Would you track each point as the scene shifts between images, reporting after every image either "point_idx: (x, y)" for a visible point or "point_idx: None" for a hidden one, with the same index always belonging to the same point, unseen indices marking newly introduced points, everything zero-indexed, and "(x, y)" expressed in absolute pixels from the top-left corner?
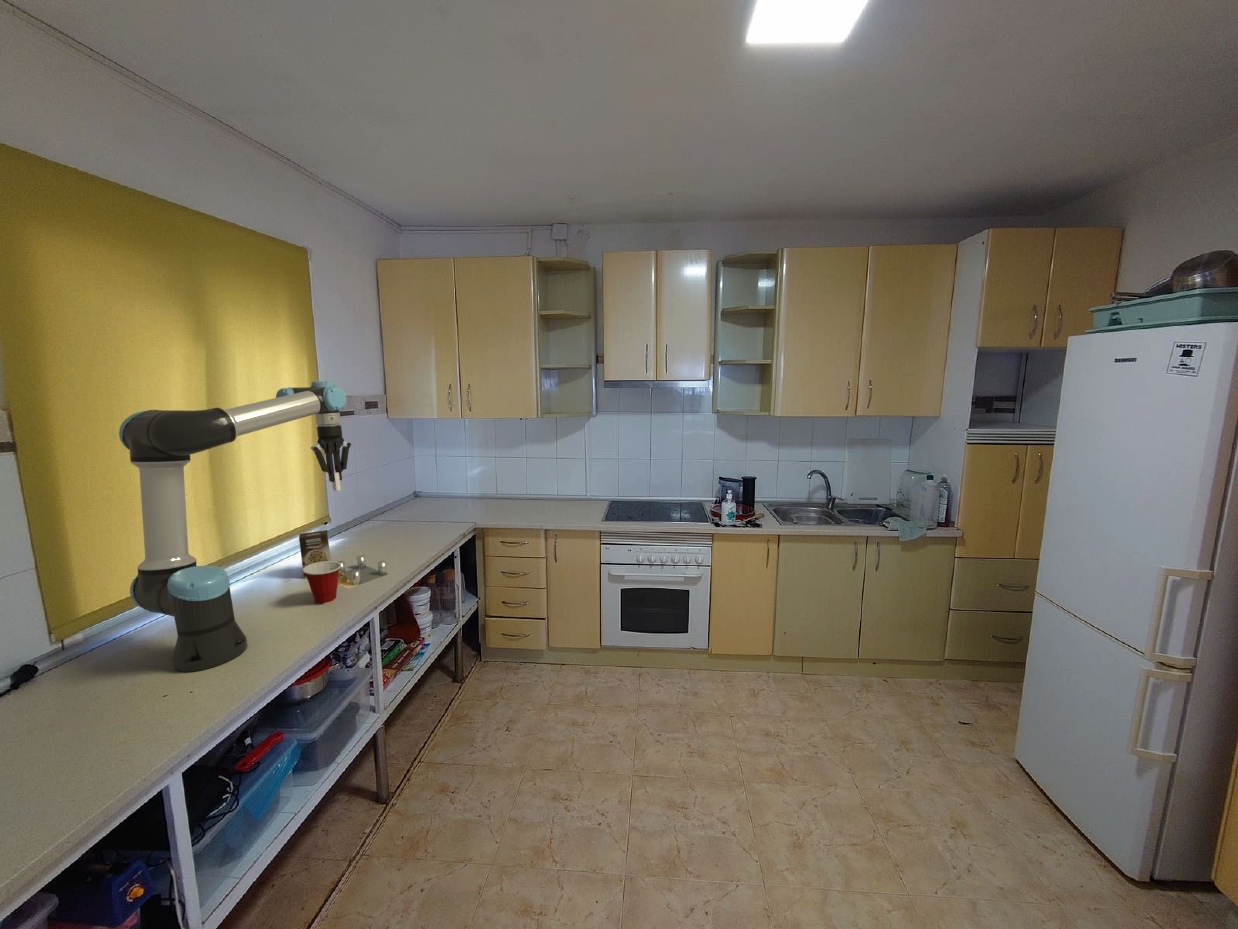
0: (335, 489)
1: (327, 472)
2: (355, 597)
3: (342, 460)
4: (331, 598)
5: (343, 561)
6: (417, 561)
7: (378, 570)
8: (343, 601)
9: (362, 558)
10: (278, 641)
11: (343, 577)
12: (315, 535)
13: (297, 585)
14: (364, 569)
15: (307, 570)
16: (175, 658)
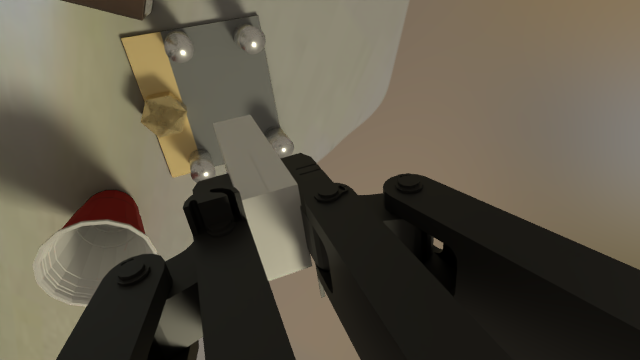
0: (226, 170)
1: (186, 254)
2: (180, 231)
3: (483, 300)
4: (124, 233)
5: (191, 47)
6: (372, 98)
7: (267, 139)
8: (151, 237)
9: (253, 53)
10: (2, 350)
11: (172, 133)
12: (82, 3)
13: (27, 24)
14: (246, 58)
15: (51, 243)
16: None
